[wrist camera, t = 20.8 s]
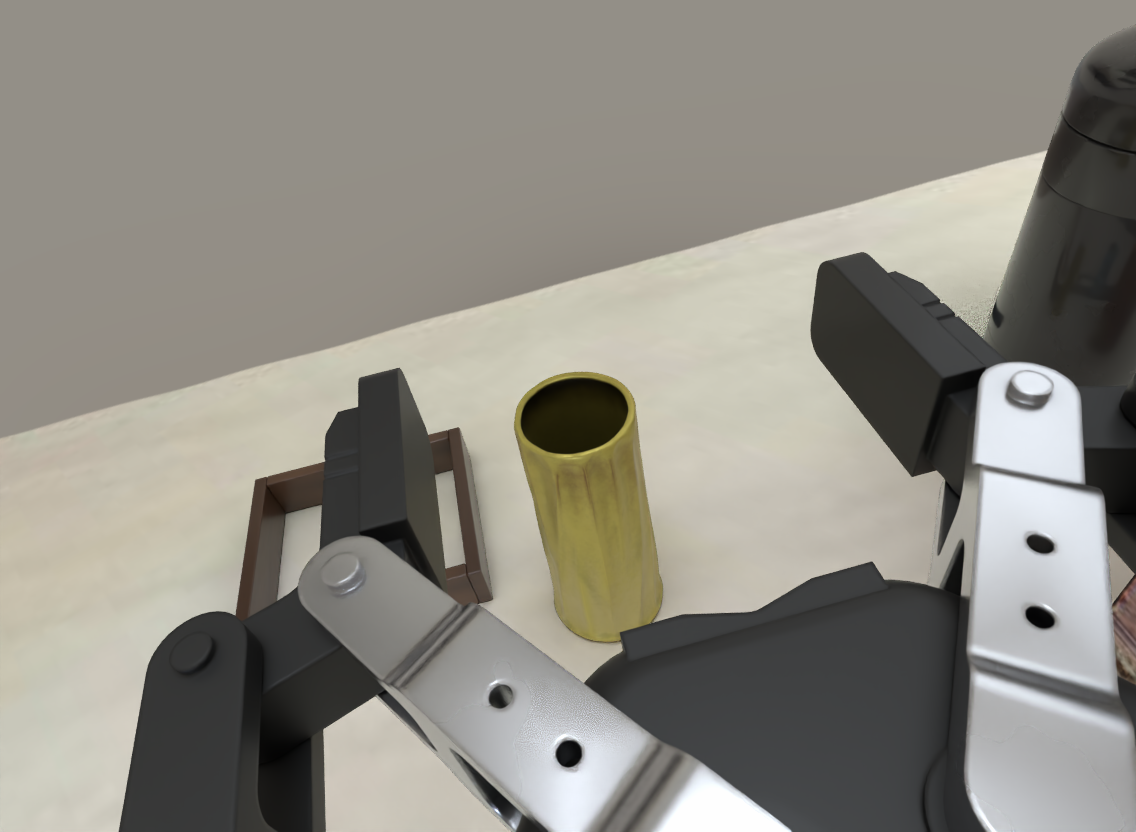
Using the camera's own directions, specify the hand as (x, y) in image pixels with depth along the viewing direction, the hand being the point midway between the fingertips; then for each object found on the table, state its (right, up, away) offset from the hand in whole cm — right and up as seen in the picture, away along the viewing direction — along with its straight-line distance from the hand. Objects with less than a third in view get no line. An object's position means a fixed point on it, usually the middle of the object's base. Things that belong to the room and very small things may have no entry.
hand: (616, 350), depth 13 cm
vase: (+1, -11, +26) cm, 28 cm away
